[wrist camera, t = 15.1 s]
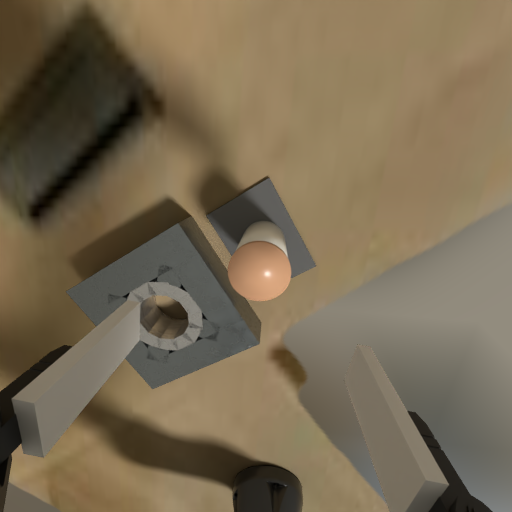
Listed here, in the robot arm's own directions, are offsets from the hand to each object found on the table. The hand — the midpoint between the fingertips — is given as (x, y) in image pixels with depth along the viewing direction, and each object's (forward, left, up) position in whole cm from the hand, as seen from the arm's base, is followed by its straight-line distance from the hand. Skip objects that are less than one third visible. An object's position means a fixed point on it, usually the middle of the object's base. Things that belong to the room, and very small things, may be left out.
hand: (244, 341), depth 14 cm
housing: (-2, +17, -21) cm, 27 cm away
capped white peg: (0, 0, -21) cm, 21 cm away
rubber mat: (0, 0, -21) cm, 21 cm away
